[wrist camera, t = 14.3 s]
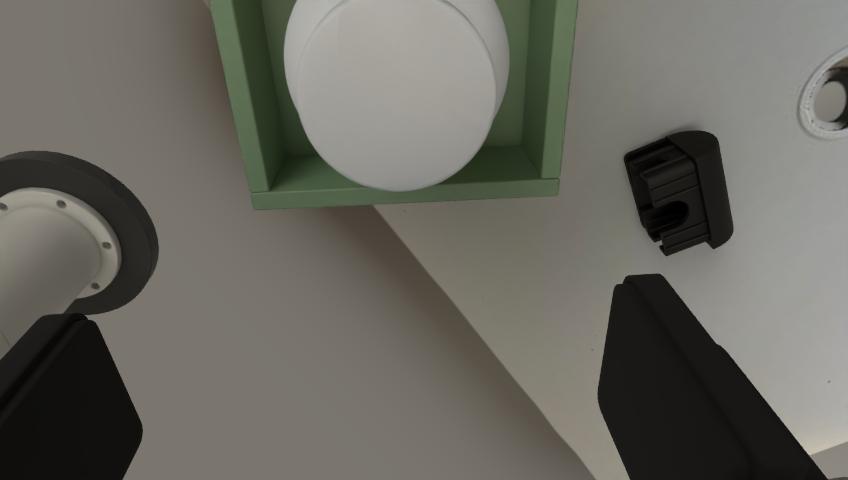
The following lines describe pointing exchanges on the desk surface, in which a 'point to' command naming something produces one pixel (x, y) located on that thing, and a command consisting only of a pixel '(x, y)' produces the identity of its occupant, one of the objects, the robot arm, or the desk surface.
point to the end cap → (681, 191)
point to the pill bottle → (396, 85)
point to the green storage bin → (323, 187)
